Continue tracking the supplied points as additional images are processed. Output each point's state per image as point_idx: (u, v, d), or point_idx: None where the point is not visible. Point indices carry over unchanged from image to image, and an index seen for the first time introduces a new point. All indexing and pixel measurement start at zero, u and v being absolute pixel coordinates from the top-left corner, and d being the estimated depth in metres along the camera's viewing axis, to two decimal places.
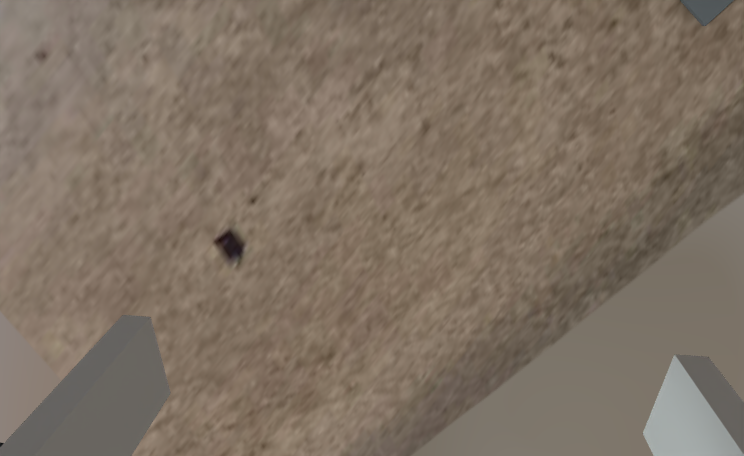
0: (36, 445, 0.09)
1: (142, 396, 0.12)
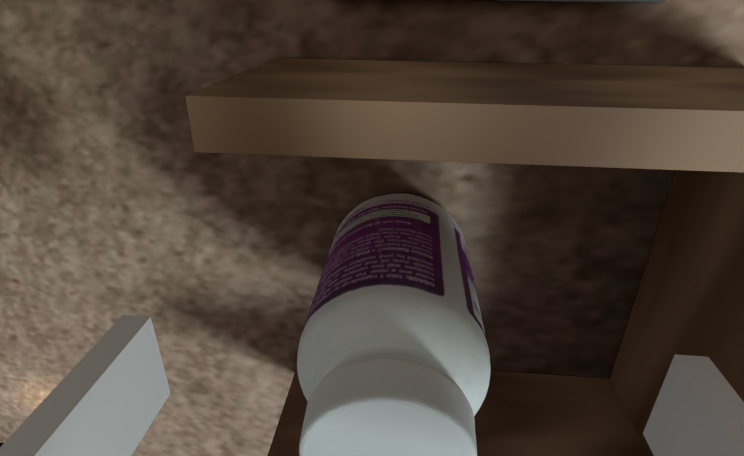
0: (36, 445, 0.09)
1: (142, 396, 0.12)
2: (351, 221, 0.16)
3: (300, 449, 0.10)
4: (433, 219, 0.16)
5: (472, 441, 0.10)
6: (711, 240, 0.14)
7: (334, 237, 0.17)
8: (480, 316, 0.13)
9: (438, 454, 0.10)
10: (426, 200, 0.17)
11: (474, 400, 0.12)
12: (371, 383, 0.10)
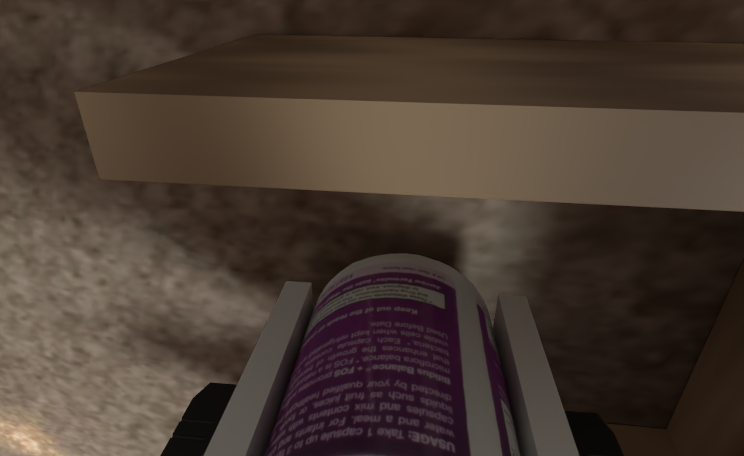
0: (267, 381, 0.10)
1: None
2: (334, 297, 0.12)
3: None
4: (448, 298, 0.11)
5: None
6: None
7: (312, 312, 0.13)
8: None
9: None
10: (438, 264, 0.12)
11: None
12: None
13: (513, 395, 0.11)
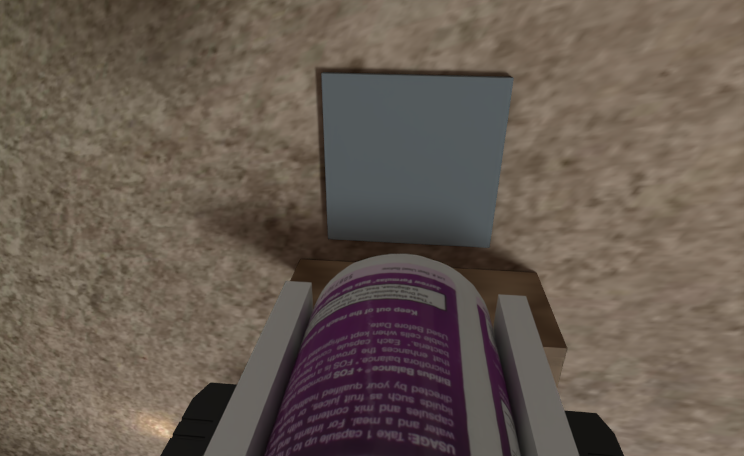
0: (267, 380, 0.10)
1: None
2: (333, 298, 0.12)
3: None
4: (449, 299, 0.11)
5: None
6: None
7: (312, 313, 0.13)
8: None
9: None
10: (438, 265, 0.12)
11: None
12: None
13: (513, 395, 0.11)
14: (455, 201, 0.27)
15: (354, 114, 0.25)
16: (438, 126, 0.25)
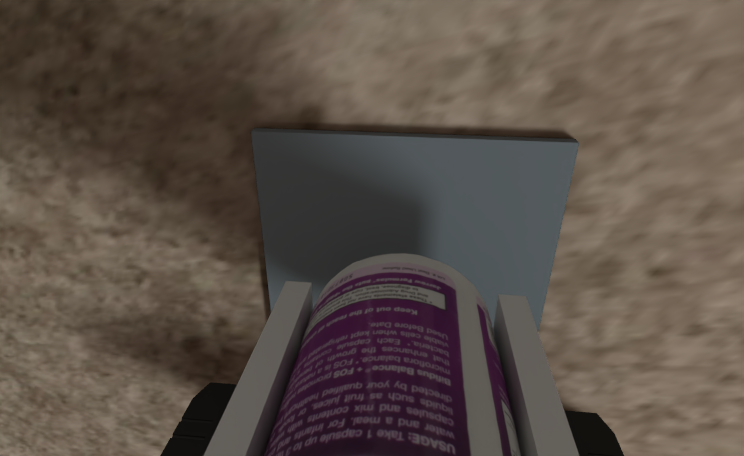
0: (267, 381, 0.10)
1: None
2: (333, 297, 0.12)
3: None
4: (449, 299, 0.11)
5: None
6: None
7: (312, 313, 0.13)
8: None
9: None
10: (438, 264, 0.12)
11: None
12: None
13: (513, 395, 0.11)
14: None
15: (309, 196, 0.15)
16: (448, 216, 0.15)
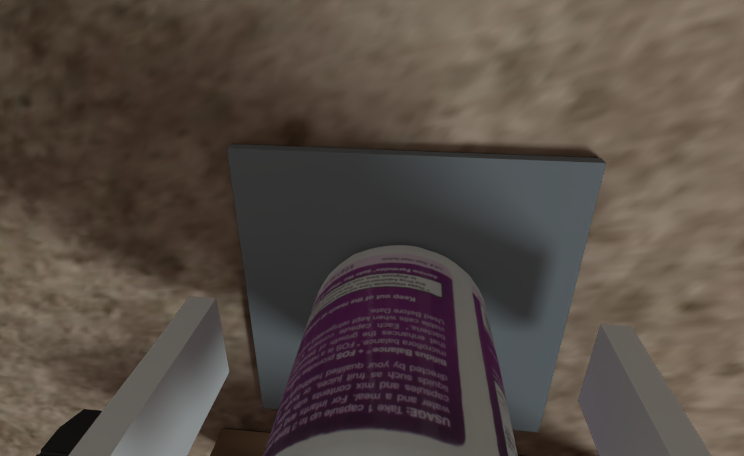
0: (134, 409, 0.09)
1: (209, 372, 0.12)
2: (335, 286, 0.12)
3: None
4: (445, 287, 0.12)
5: None
6: None
7: (314, 302, 0.13)
8: (515, 452, 0.09)
9: None
10: (435, 255, 0.13)
11: None
12: None
13: (642, 444, 0.09)
14: None
15: (294, 221, 0.13)
16: (453, 245, 0.13)
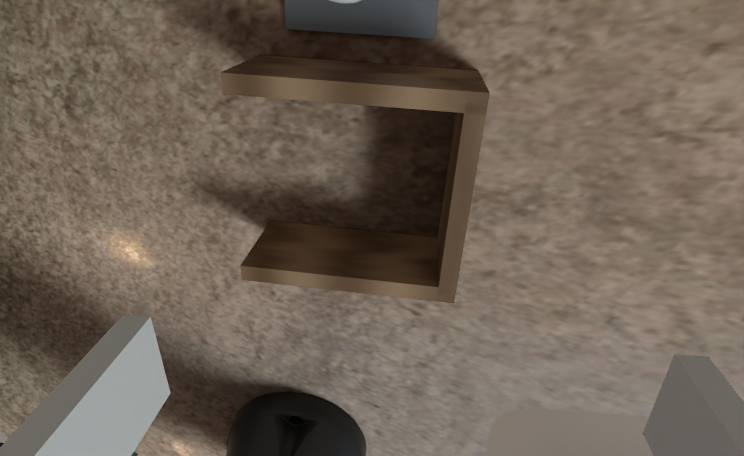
0: (36, 445, 0.09)
1: (142, 396, 0.12)
2: None
3: None
4: None
5: None
6: (453, 149, 0.31)
7: None
8: None
9: None
10: None
11: None
12: None
13: None
14: None
15: None
16: None
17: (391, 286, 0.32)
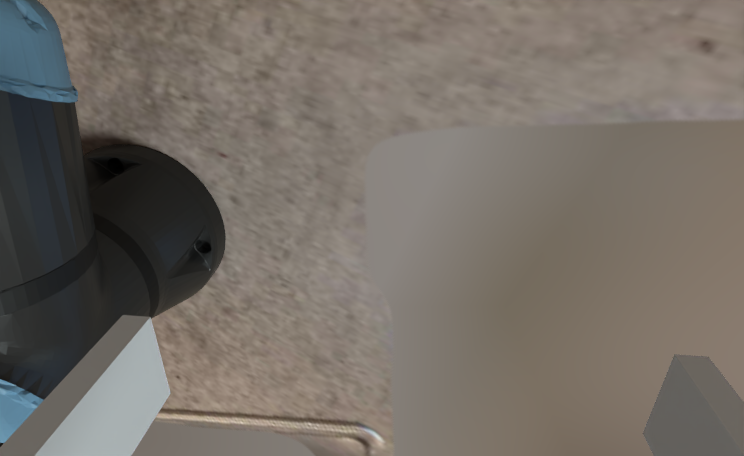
0: (36, 445, 0.09)
1: (142, 396, 0.12)
2: None
3: None
4: None
5: None
6: None
7: None
8: None
9: None
10: None
11: None
12: None
13: None
14: None
15: None
16: None
17: None
